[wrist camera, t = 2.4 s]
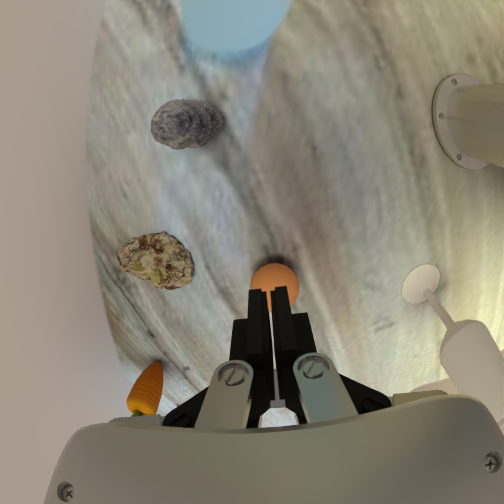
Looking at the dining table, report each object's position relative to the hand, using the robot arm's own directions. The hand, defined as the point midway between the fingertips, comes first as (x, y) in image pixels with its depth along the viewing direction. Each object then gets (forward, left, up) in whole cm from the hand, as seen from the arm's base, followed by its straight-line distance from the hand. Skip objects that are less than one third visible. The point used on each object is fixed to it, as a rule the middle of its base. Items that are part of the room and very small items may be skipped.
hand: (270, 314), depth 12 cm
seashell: (+6, -9, -20) cm, 23 cm away
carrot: (+21, +26, -20) cm, 39 cm away
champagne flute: (-21, +14, -20) cm, 32 cm away
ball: (0, +10, -17) cm, 20 cm away
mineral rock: (+15, +6, -20) cm, 26 cm away
